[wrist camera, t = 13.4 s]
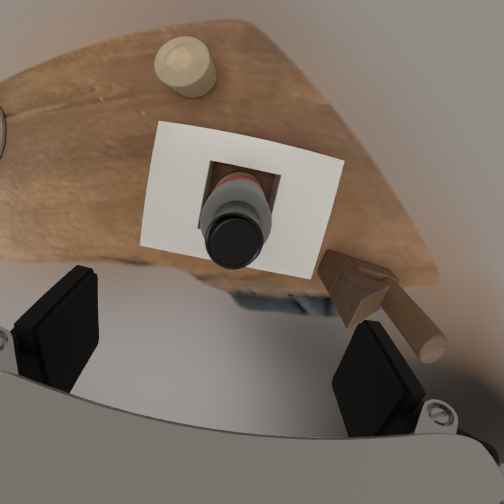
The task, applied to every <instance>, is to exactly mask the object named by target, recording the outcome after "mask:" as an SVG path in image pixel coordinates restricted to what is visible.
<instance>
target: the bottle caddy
mask: <svg viewBox="0 0 504 504" xmlns="http://www.w3.org/2000/svg"><path fill="white" fill-rule="evenodd" d="M215 161H216V162H221V163H227V164H232V165H236V166H241V167H246V168H251V169H255V170H260V171H264V172H269V173H273V174H275V175H274V179H273V183H272V188H271V192H270V196H269V200H268V206H269V209H270V212H271V217H272V227H271V232H270V235H269V237H268V239H267V241H266V242H265V243H264V245H263V248H262V250H261V252H260V254H259V256H258V257H257V258H256V259H255V260H254V261H253V262H252V263H251V264H249V265H248V266H246V267H249V268H254V269H259V270H264V271H269V272H274V273H280V274H285V275H290V276H295V277H301V278H306V279H311V277H312V274H313V270H314V267H315V264H316V261H317V257H318V254H319V251H320V248H321V244H322V241H323V237H324V234H325V231H326V227H327V224H328V220H329V217H330V213H331V210H332V206H333V202H334V199H335V195H336V191H337V188H338V184H339V180H340V176H341V172H342V168H343V165H344V161H343V160H340V159H336V158H333V157H330V156H326V155H323V154H319V153H315V152H312V151H308V150H304V149H300V148H296V147H292V146H289V145H284V144H280V143H276V142H272V141H268V140H263V139H259V138H254V137H250V136H245V135H240V134H235V133H230V132H225V131H220V130H214V129H209V128H203V127H197V126H191V125H184V124H178V123H171V122H164V121H159V123H158V127H157V132H156V138H155V143H154V148H153V154H152V159H151V165H150V171H149V178H148V184H147V191H146V198H145V205H144V213H143V221H142V230H141V239H140V246H145V247H150V248H154V249H159V250H164V251H169V252H174V253H179V254H184V255H188V256H193V257H198V258H203V259H208V260H212V259H211V258H210V257H209V255H208V253H207V250H206V247H205V239H204V237H203V235H202V232H201V228H200V216H201V212H202V209H203V206H204V205H205V203H206V201H207V197H208V192H209V187H210V182H211V177H212V172H213V167H214V162H215Z"/></svg>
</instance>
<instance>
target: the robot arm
mask: <svg viewBox="0 0 504 504" xmlns="http://www.w3.org/2000/svg"><path fill="white" fill-rule="evenodd" d="M5 131H6V128H5V120H4V115H3V112H2V110H1V108H0V157H1V154H2V151H3V147H4V142H5ZM97 280H98V278H97V274H95V273H94V272H93V269H92V268H88V267H84V266H80V265H77V266H75V267H74V268H73V269H72V270H71V271H70V272H68V273H67V274H66V275H65V276H64V277H63V278H62V279H61V280H59V281H58V282H57V283H56V284H55V285H54V286H53V287H52V288H51V289H50V290H49V291H47V293H45V294H44V295H43V296H42V297H41V298H40V299H39V300H38V301H37V302H36V303H35V304H34V305H33V306H32V307H31V308H30V309H28V310H27V312H26V313H24V314H23V315H22V316H21V317H20V318H19V319H18V320H17V321H16V322H15V323H14V328H13V329H12V330H11V331H10V332H9V331H8V330H7V329H5V328H3V327H0V504H504V464H501V465H500V466H498V464H499V458H498V454H497V452H496V450H495V448H494V447H493V446H491V445H489V444H487V443H485V442H483V441H481V440H479V439H477V438H475V437H473V436H471V435H470V434H468V433H466V432H464V431H462V430H460V429H458V428H457V425H458V417H457V415H456V413H455V411H454V410H453V408H451V407H450V406H449V405H448V404H446V403H444V402H442V401H440V400H434V399H433V400H428V401H426V402H425V403H424V402H423V400H422V399H423V398H424V396H425V395H426V392H425V391H424V389H423V388H422V386H421V384H420V383H419V381H418V380H417V378H416V377H415V375H414V373H413V372H412V370H411V369H410V367H409V365H408V364H407V362H406V361H405V359H404V358H403V356H402V355H401V353H400V352H399V350H398V349H397V347H396V346H395V344H394V343H393V341H392V340H391V338H390V337H389V335H388V334H387V332H386V331H385V329H384V328H383V326H382V325H381V323H380V322H377V321H370V320H364V321H363V322H362V323H359V324H358V325H357V327H356V329H355V331H354V334H353V336H352V338H351V341H350V343H349V345H348V347H347V349H346V351H345V354H344V356H343V358H342V360H341V362H340V364H339V366H338V368H337V371H336V372H335V375H334V376H333V380H332V388H333V391H334V394H335V397H336V399H337V403H338V406H339V409H340V412H341V415H342V418H343V421H344V424H345V427H346V430H347V433H348V437H343V438H342V437H341V438H319V437H318V438H317V437H314V438H313V437H312V438H311V437H290V436H273V435H260V434H249V433H241V432H232V431H224V430H217V429H211V428H204V427H198V426H192V425H187V424H182V423H176V422H171V421H166V420H162V419H157V418H153V417H149V416H144V415H140V414H136V413H132V412H128V411H125V410H121V409H117V408H114V407H110V406H107V405H104V404H101V403H97V402H94V401H91V400H88V399H84V398H82V397H79V396H76V395H73V394H70V391H71V390H72V388H73V386H74V384H75V382H76V381H77V379H78V377H79V375H80V374H81V372H82V370H83V369H84V367H85V365H86V363H87V362H88V360H89V358H90V357H91V355H92V353H93V352H94V350H95V348H96V347H97V344H98V341H99V326H98V281H97Z"/></svg>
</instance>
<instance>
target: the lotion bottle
mask: <svg viewBox="0 0 504 504" xmlns="http://www.w3.org/2000/svg"><path fill="white" fill-rule="evenodd" d="M271 227H272V217H271V212H270V209H269V206H268V203H267V201H266V198H265V196H264V193H263V190H262V188H261V186H260V184H259V182H258V180H257V179H256V178H255V177H254V176H252V175H251V174H249V173H247V172H243V171H235V172H231V173H228V174H227V175H225V176H224V177H223V178H222V179H221V180H220V181H219V182H218V184H217V185H216V187H215V188H214V190H213V192H212V193H211V195H210V196H209V198H208V199H207V201H206V203H205V205H204V206H203V209H202V212H201V216H200V228H201V232H202V235H203V237H204V239H205V247H206V250H207V253H208V255H209V257H210V258H211V259H212V261H213V262H214V263H216V264H217V265H218V266H220V267H223V268H225V269H240V268H243V267H246V266H248V265H249V264H251V263H252V262H253V261H254V260H255V259H256V258H257V257H258V256H259V254H260V252H261V250H262V248H263V245H264V243H265V242H266V241H267V239H268V237H269V235H270V232H271Z"/></svg>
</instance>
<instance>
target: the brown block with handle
mask: <svg viewBox="0 0 504 504" xmlns="http://www.w3.org/2000/svg"><path fill="white" fill-rule="evenodd" d="M318 274H319V276H320V278H321V280H322V281H323V283H324V285H325V287H326V289H327V291H328V293H329V295H330V296H331V299H332V301H333V303H334V305H335V307H336V309H337V311H338V312H339V314H340V316H341V318H342V320H343V322H344V324H345V326H346V328H347V329H349V328H350V327H352V326H354V325H355V324H357V323H358V322H360V321H361V320H363V319H364V318H366V317H367V316H369V315H370V314H372V313H373V312H375V311H376V310H378V309H379V307H380V306H381V307H382V309H383V310H384V311H385V313H386V314H387V315H388V317H389V318H390V319H391V321H392V322H393V323H394V325H395V326H396V327H397V329H398V330H399V332H400V333H401V334H402V336H403V337H404V339H405V340H406V341H407V343H408V344H409V345H410V347H411V348H412V350H413V351H414V352H415V354H416V355H417V357H418V358H419V360H420V361H421V362H424V363H431V362H434V361H436V360H437V359H438V358H440V357H441V356H442V354H443V353H444V352H445V350H446V348H447V338H446V336H445V335H444V334H443V333H442V332H441V331H440V330H439V328H438V327H437V326H436V325H435V324H434V323H433V322H432V320H431V319H430V318H429V317H428V316H427V315H426V314H425V313H424V312H423V311H422V309H421V308H420V307H419V306H418V305H417V304H416V303H415V302H414V301H413V300H412V299H411V298H410V297H409V296H408V295H407V293H406V292H405V291H404V290H403V289H402V288H401V287H400V286H399V285H398V282H399V279H398V278H397V277H396V276H395V275H394V274H393V273H392V272H391V271H390V270H387V269H384V268H381V267H378V266H375V265H372V264H369V263H366V262H363V261H360V260H357V259H354V258H349V257H348V256H345V255H342V254H339V253H336V252H333V251H330V250H327V251H326V253H325V255H324V258H323V260H322V262H321V265H320V267H319V270H318Z"/></svg>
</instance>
